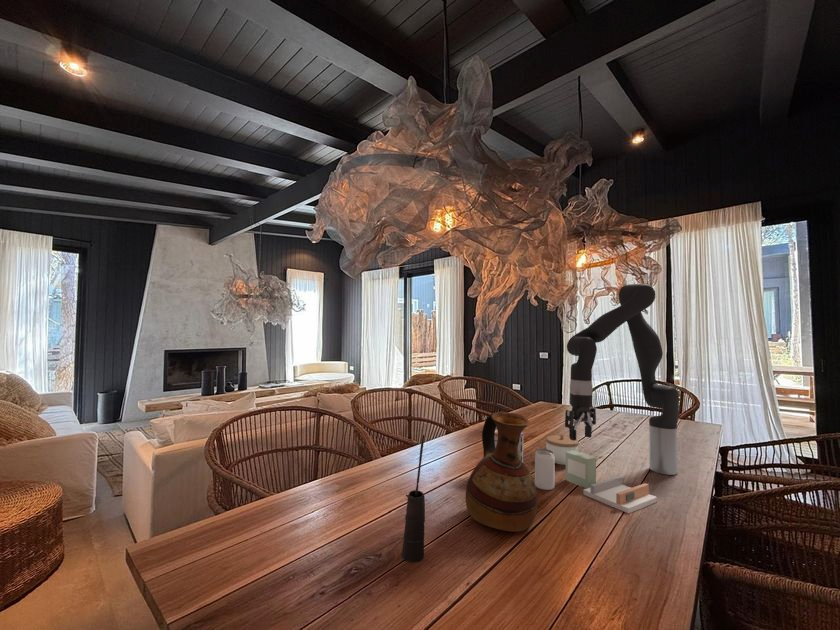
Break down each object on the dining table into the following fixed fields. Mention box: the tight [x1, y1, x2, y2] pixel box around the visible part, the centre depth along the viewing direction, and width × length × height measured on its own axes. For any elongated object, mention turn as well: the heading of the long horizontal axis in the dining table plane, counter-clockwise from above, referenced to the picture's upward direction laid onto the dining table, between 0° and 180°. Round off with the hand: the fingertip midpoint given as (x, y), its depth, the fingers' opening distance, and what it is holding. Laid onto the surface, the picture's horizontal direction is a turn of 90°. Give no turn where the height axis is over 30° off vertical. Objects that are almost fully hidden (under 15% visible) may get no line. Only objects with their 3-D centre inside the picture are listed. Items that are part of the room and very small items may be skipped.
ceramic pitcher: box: [465, 411, 538, 533], centre depth 107 cm, size 20×20×30 cm
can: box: [534, 448, 556, 491], centre depth 131 cm, size 6×6×12 cm
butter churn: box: [400, 434, 426, 563], centre depth 88 cm, size 9×10×28 cm
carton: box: [565, 450, 597, 489], centre depth 135 cm, size 4×9×10 cm, turn 31°
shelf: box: [582, 475, 658, 514], centre depth 123 cm, size 16×15×4 cm
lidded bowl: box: [545, 433, 579, 466], centre depth 157 cm, size 13×13×11 cm
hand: (580, 438), depth 135 cm, fingers open, 8 cm apart
